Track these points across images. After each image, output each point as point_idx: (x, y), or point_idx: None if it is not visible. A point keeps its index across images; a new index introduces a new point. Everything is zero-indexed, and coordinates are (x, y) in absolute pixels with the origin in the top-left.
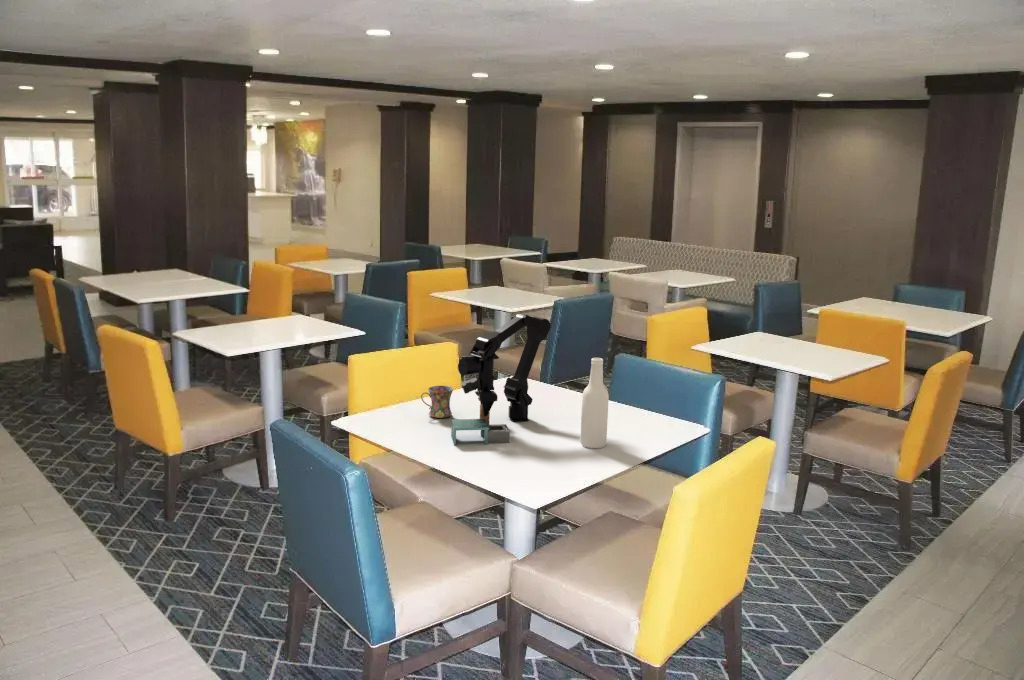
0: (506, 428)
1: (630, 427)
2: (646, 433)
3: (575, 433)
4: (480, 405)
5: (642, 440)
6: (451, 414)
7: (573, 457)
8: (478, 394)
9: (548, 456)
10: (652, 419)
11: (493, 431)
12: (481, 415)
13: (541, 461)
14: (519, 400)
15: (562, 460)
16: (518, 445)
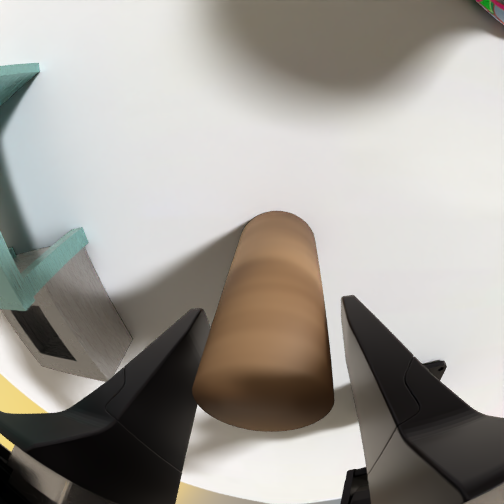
0: (59, 366)
1: (283, 490)
2: (249, 491)
3: (226, 459)
4: (220, 366)
5: (208, 484)
6: (501, 22)
7: (66, 408)
8: (432, 493)
9: (42, 379)
10: (328, 496)
11: (3, 311)
12: (228, 282)
13: (14, 358)
14: (346, 496)
15: (42, 389)
16: None
